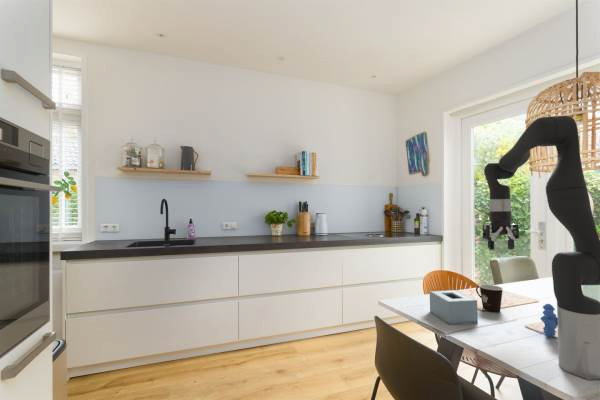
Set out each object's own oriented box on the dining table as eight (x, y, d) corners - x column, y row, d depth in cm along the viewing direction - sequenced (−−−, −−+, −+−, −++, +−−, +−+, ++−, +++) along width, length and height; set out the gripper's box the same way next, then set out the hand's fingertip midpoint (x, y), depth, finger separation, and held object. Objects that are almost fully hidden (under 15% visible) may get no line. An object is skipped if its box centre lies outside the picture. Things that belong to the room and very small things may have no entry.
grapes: (567, 347, 97) (566, 310, 97) (541, 341, 101) (540, 306, 101) (564, 334, 106) (563, 300, 106) (540, 329, 110) (539, 297, 110)
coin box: (477, 323, 117) (477, 300, 117) (448, 324, 116) (448, 301, 116) (456, 310, 131) (455, 290, 131) (430, 311, 130) (429, 291, 130)
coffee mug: (507, 314, 125) (506, 290, 126) (484, 313, 127) (484, 289, 127) (494, 304, 137) (494, 283, 137) (474, 304, 139) (473, 282, 139)
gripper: (490, 210, 118) (491, 251, 118) (523, 210, 119) (524, 250, 119) (477, 210, 126) (478, 248, 125) (509, 209, 127) (510, 247, 127)
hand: (501, 249), depth 122 cm, fingers open, 8 cm apart
